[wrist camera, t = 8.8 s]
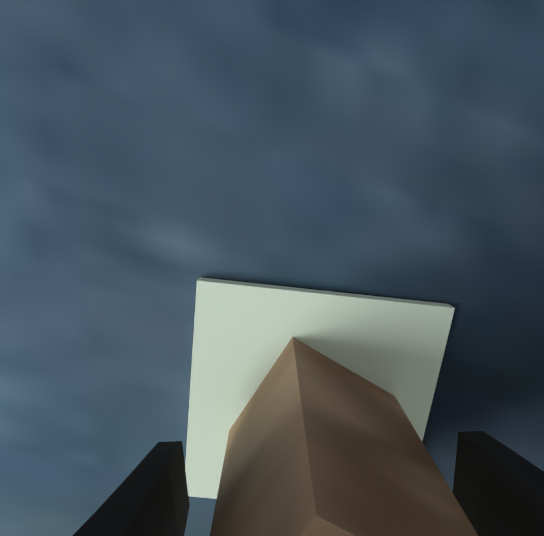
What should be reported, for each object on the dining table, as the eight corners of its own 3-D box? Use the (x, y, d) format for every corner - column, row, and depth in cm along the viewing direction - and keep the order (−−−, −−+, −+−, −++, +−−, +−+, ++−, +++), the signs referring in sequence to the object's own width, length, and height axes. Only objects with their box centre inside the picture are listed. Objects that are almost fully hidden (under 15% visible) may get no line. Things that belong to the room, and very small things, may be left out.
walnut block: (394, 395, 11) (531, 625, 5) (327, 481, 12) (381, 767, 6) (292, 336, 11) (316, 515, 5) (229, 430, 11) (183, 683, 5)
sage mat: (448, 304, 11) (454, 308, 10) (400, 506, 12) (404, 516, 12) (199, 277, 11) (197, 280, 10) (186, 486, 12) (183, 495, 12)
